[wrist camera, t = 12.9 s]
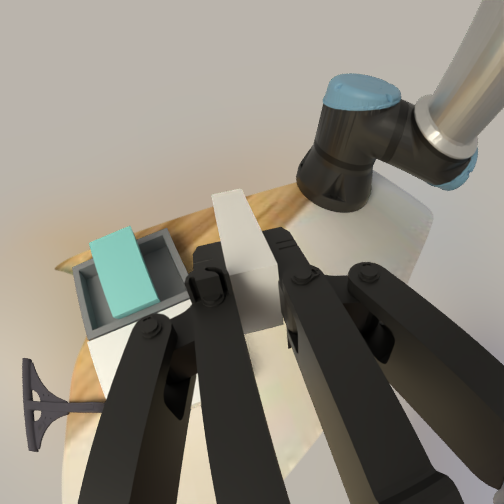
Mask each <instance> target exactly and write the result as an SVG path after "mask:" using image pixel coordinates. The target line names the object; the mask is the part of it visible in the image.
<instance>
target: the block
mask: <svg viewBox="0 0 504 504" xmlns="http://www.w3.org/2000/svg"><path fill="white" fill-rule="evenodd" d="M89 245H90V249H91V253H92V256H93V259H94V263H95V266H96V269H97V273H98V276H99V279H100V282H101V285H102V288H103V291H104V294H105V297H106V299H107V302H108V305H109V308H110V310H111V313H112V316H113V317H114V318H116V319H121V318H124V317H126V316H128V315H131V314H133V313H136V312H138V311H140V310H143V309H145V308H147V307H150V306H152V305H155V304H157V303H159V302H161V301H160V299H159V297H158V294H157V292H156V289H155V287H154V284H153V282H152V279H151V277H150V274H149V272H148V269H147V267H146V264H145V261H144V259H143V256H142V253H141V251H140V248H139V245H138V242H137V240H136V238H135V236H134V233H133V231H132V229H131V227H130V226H129V227H126V228H123V229H121V230H119V231H116V232H114V233H111V234H109V235H107V236H104V237H102V238H100V239H97V240H95V241H93V242H90V243H89Z"/></svg>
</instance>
